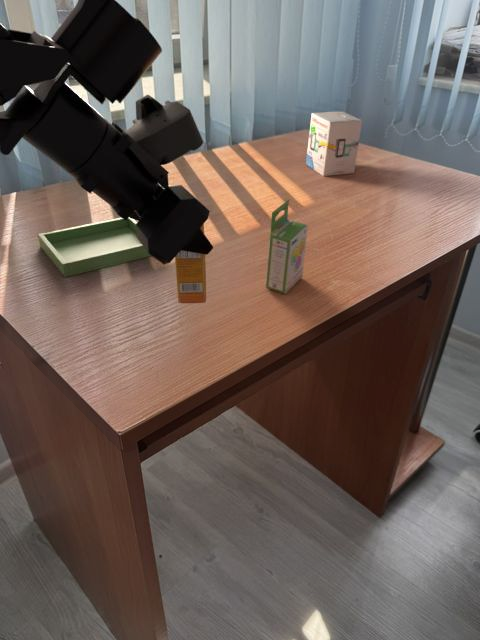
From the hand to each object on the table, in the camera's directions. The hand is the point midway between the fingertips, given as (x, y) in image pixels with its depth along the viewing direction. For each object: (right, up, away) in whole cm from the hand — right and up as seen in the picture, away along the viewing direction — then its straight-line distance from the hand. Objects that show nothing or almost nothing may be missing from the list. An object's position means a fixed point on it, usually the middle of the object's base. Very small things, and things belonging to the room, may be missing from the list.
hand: (202, 242), depth 57 cm
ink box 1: (+10, -2, +21) cm, 23 cm away
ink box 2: (+22, +30, +65) cm, 75 cm away
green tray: (-19, +4, +26) cm, 32 cm away
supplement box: (-2, -6, +3) cm, 7 cm away
